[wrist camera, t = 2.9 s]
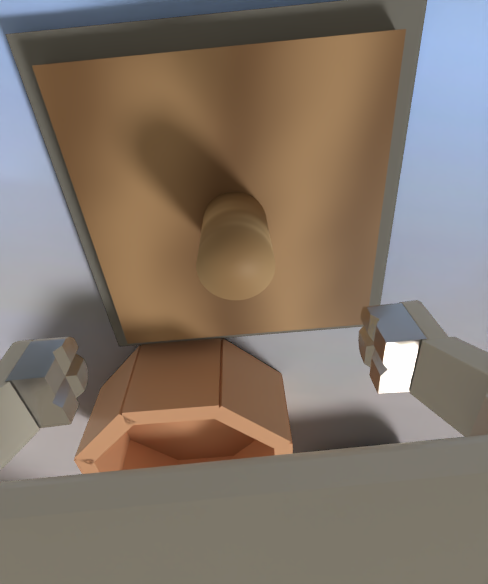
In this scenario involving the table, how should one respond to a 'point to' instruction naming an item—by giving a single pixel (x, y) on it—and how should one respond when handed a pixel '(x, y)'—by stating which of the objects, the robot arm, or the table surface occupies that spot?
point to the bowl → (186, 409)
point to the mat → (219, 33)
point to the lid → (232, 179)
